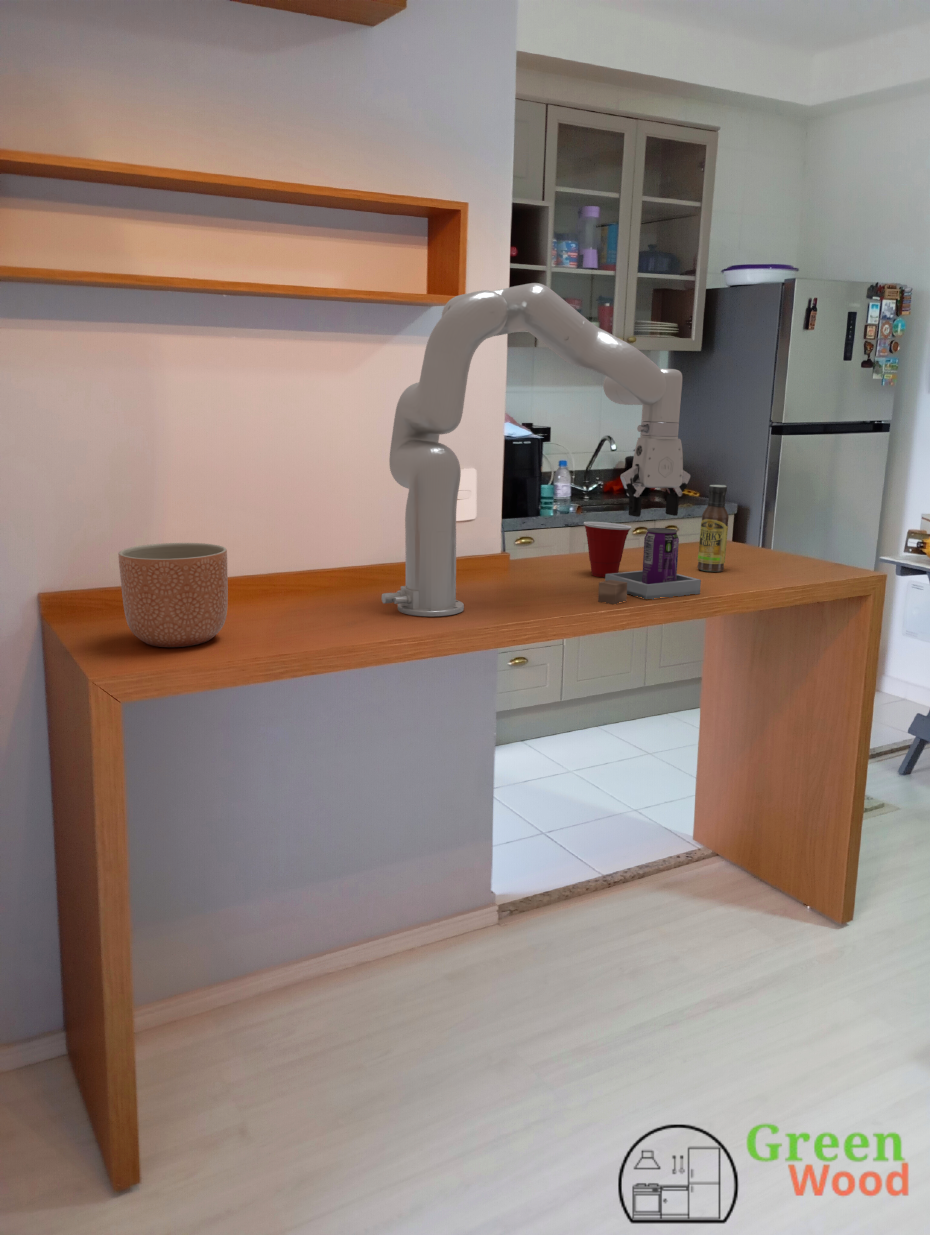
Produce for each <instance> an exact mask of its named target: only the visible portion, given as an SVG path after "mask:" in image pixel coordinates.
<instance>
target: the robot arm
mask: <svg viewBox="0 0 930 1235" xmlns="http://www.w3.org/2000/svg"><path fill="white" fill-rule="evenodd" d="M518 332H519V333H520V332H528V333H529V334H531V335H532V336H533V337H534V338H536V339H537V340H538V341H539V342H541V343H542V344H544V345H545V346H546V347H547V348H549V350H550V351H552V352H553V353H554V354H556V355H557V356H559V357H560V359H562V360H564V362H566V363H568V364H571V365H573V366H575V367H578V368H581V369H585V370H588V371H593V372H596V373H599V374H601V375H603V376H605V377H604V380H603V388H602V389H603V392H604V395H605V396H606V397H607V398H608V399H609V400H610V401H611V402H612V403H615V404H617V405H618V404H619V405H623V406H627V405H628V406H629V405H631V406H633V405H635V406H642V408H641V422H640V424H639V425H638V426H637V428H636V429H637V431H638V432H639V433H640V436H639V437H637V441H636V444H635V449H634V454H633V459H632V467H631V468H629V469H628V470H627V469H626V471H625V472H623V473H621V474H620V480H621V483H622V488H623V489H624V491H625V492H626V495H627V496H628V497H629V499H628V516H631V517H635V518H638V517H640V516H641V514H642V501H643V499H642V496H640V495H642V493H643V491H644V490H645V489H646V488H649V489H666V491H667V492H668V494H667V495H666V499H665V500H666V501H665V514H666V515H669V516H678V514H679V501H680V497H682V496H683V492H684V491H685V490H686V488H687V485H688V483H689V481H690V479H691V474H690V473H688V472H687V471H685V470H684V469H683V468H684V460H683V459H684V458H683V457H684V456H683V455H684V453H683V445H682V440H681V438H679V428H680V425H679V424H680V415H681V412H680V411H681V402H682V400H681V399H682V388H683V373H682V371H680V370H678V369H675V368H660V367H659V366H658V365H657V364H656V363H655V362H653V361H652V359H650V358H649V357H648V356H647V355H646V354H644V353H643V352H642V351H640V350H639V349H638V348H637V347H635V346H633V345H632V344H630V343H628V342H626V341H625V340H623V339H621V338H620V337H618V336H615V335H614V334H611V333H610V332H608V331H606V330H605V329H602V328H601V327H598V326H596V325H595V324H594V323H592V322H591V321H589V320H588V319H587V318H586V317H585V316H584V315H582V314H581V313H580V311H579V312H578V310H577V309H575V308H574V307H572V306H571V304H569V303H568V302H567V301H565V300H564V298H562V297H561V296H560V295H559V294H558V293H556V292H555V291H553V289H551V288H550V287H549V286H547V285H545V284H543V283H538V282H531V283H525V284H520V285H514V286H510V287H506V288H501V289H496V290H488V289H486V290H484V289H482V290H478V291H473V292H469V293H463V294H459V295H456V296H454V297H452V298H450V299H449V300H448V301H447V303H445V306H444V307H443V308H442V312H441V317H440V319H439V320H438V321H437V322H436V324H435V326H434V327H433V329H432V331H431V333H430V335H429V337H428V339H427V344H426V347H425V350H424V355H423V361H422V366H421V370H420V371H421V372H420V377H419V380H418V382H415V383H413V384H410V385H409V386H408V387H406V388H405V389H404V390H403V392H402V393H401V395H400V396H399V399H398V402H397V404H396V408H395V414H394V419H393V420H394V421H393V426H392V434H391V441H390V449H389V469H390V470H389V471H390V473H391V475H392V477H393V480H395V482H396V483H397V484H398V485H400V486H401V487H403V488H406V489H408V494H407V499H406V504H405V516H404V524H405V525H404V526H405V527H404V529H405V530H404V531H405V534H404V536H405V537H404V539H405V585H401V586H400V589H399V590H397V591H396V592H385V593H382V594H381V602H382V604H384V605H385V604H392V603H393V604H395V605H397V610H398V611H399V613H402V614H405V615H408V616H416V617H417V616H418V617H446V616H452V615H456V614H457V615H458V614H460V613H462V612H464V610H465V604H464V603H463V602H462V601H460V600H458V599H457V596H456V595H457V582H456V581H457V506H458V497H459V489H460V485H461V484H460V483H461V476H462V473H461V471H462V469H461V464H460V461H459V459H458V456H457V455H456V453H455V452H454V450H452V449H451V448H450V447H449V446H448V445H445V444H444V443H441V442H439V441H440V435H446V434H449V433H452V432H454V431H455V430H456V429H457V428H458V427H459V425H460V423H461V420H462V417H463V413H464V408H465V398H466V391H467V384H468V379H469V378H468V377H469V376H468V375H469V371H470V367H471V363H472V359H473V356H474V354H475V352H476V351H477V349H478V348H479V347H480V345H481V344H482V343H483V342H484V341H486V340H488V339H490V338H493V337H496V336H497V337H498V336H503V335H509V334H511V333H512V334H513V333H518Z"/></svg>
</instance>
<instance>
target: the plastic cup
mask: <svg viewBox="0 0 930 1235" xmlns="http://www.w3.org/2000/svg"><path fill="white" fill-rule="evenodd" d="M583 526H584V527H585V528H584V529H585V532H586V533H585V534H586V539H587V548H588V549H587V550H588V557H589V558H588V559H589V562H590V570H591V571H590V572H591V575H592V576H593V577H597V578H605V574H611V573H619V570H620V567H621V566H620V565H621V562H622V558H623V554H624V549H625V545H626V544H625V543H626V540H627V537H628V535H629V532H630V531H631V529H632V526H631V525H626V524H622V523H614V522H606V521H584V522H583Z"/></svg>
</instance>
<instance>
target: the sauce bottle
mask: <svg viewBox="0 0 930 1235" xmlns="http://www.w3.org/2000/svg"><path fill="white" fill-rule="evenodd" d="M727 493H728V486H727V485H725V484H710V485H709V486H708V501H707V507H706V508H705V509H704V510H703V512H702V515H701V522H700V528H699V531H700V532H699V542H698V543H699V544H698V552H697V562H698V563H697V569H699V570H700V571H704V572H709V573H710V572H711V573H721V572H723V571H724V570H725V566H724V565H725V563H726V562H725V561H726V553H727V544H728V542H727V541H728V534H729V531H728V530H729V517H730V516H729V512H728V511H727V509H726V494H727Z"/></svg>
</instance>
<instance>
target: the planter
mask: <svg viewBox="0 0 930 1235" xmlns="http://www.w3.org/2000/svg"><path fill="white" fill-rule="evenodd" d="M118 566H119V575H120V577H119V578H120V586H121V595H122V596H121V597H122V604H123V610H124V615H125V619H126V623H127V626H128V627H129V629H130V631H131V633H132V634H133V636H136V638H137V639H139V640H140V641H142V642H144V643H145V644H147V645H149V646H153V647H161V648H184V647H192V646H197V645H200V644H204V643H206V642H208V641H210V640H211V639H213V638H214V637H215V636H216V635H218V633H220V631H222V628H223V627H224V625H225V622H226V621H227V616H228V615H227V613H228V606H229V604H228V603H229V602H228V601H229V599H228V596H229V595H228V594H229V593H228V592H229V590H228V589H229V586H228V585H229V584H228V581H229V580H228V550H227V548H226V547H225V546H223V545H220V544H219V545H218V544H212V543H202V542H201V543H200V542H170V543H169V542H165V543H152V544H144V545H136V546H131V547H128V548H124V549H122V550H120V551H118Z"/></svg>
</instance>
